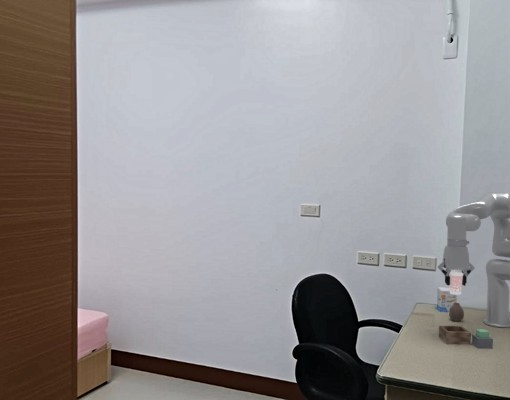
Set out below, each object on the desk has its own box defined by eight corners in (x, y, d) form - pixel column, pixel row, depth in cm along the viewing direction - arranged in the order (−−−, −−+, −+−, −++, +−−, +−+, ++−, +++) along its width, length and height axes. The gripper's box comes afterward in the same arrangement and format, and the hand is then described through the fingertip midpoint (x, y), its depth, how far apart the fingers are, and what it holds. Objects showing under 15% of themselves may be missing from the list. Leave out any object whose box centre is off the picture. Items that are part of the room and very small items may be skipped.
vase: (465, 323, 244) (465, 305, 243) (450, 322, 245) (450, 304, 245) (462, 319, 250) (462, 302, 250) (447, 318, 252) (448, 301, 251)
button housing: (486, 343, 212) (486, 334, 212) (492, 348, 206) (492, 338, 206) (472, 343, 212) (472, 334, 212) (478, 348, 206) (478, 338, 206)
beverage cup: (461, 295, 211) (462, 263, 211) (446, 294, 214) (447, 261, 214) (464, 293, 216) (464, 261, 216) (449, 291, 219) (450, 259, 219)
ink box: (439, 311, 265) (440, 290, 264) (436, 307, 273) (437, 286, 273) (456, 312, 263) (457, 290, 263) (453, 308, 272) (453, 287, 271)
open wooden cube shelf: (461, 337, 221) (461, 325, 221) (470, 344, 211) (470, 332, 211) (438, 336, 221) (438, 325, 221) (446, 343, 211) (447, 332, 211)
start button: (484, 341, 211) (485, 329, 210) (488, 344, 207) (489, 332, 207) (475, 340, 211) (476, 329, 210) (479, 343, 207) (480, 331, 207)
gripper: (473, 242, 218) (472, 283, 219) (433, 242, 218) (432, 283, 219) (480, 244, 211) (479, 287, 211) (439, 244, 211) (438, 286, 212)
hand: (455, 284), depth 215 cm, fingers closed on beverage cup, 6 cm apart
